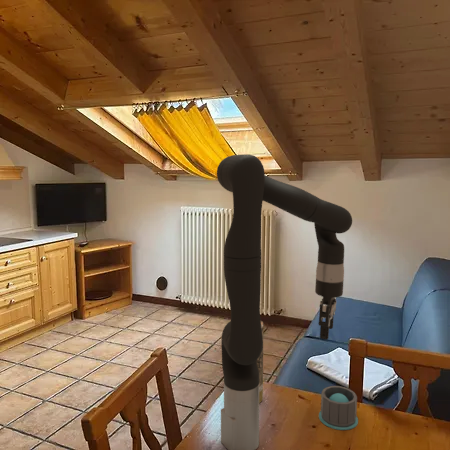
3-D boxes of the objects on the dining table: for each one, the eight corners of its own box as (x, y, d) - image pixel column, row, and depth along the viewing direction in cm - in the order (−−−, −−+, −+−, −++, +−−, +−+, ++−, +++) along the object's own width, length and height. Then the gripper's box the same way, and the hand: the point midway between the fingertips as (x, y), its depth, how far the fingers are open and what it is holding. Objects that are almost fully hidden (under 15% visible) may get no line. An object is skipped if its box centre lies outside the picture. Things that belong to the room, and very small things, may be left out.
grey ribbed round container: (338, 434, 117) (339, 409, 116) (310, 414, 126) (311, 391, 125) (366, 422, 122) (367, 398, 121) (338, 403, 132) (339, 381, 130)
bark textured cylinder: (262, 394, 137) (263, 319, 133) (262, 406, 130) (263, 328, 127) (241, 393, 138) (241, 319, 134) (240, 405, 131) (240, 327, 127)
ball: (338, 422, 120) (339, 402, 119) (323, 411, 125) (324, 392, 124) (353, 416, 123) (354, 396, 122) (338, 406, 128) (339, 387, 127)
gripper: (340, 285, 112) (336, 345, 114) (346, 273, 125) (343, 326, 127) (311, 282, 114) (308, 340, 117) (320, 270, 127) (317, 322, 130)
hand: (326, 333), depth 122 cm, fingers open, 8 cm apart
